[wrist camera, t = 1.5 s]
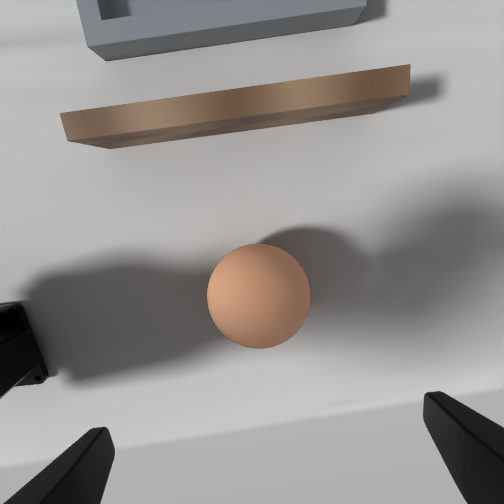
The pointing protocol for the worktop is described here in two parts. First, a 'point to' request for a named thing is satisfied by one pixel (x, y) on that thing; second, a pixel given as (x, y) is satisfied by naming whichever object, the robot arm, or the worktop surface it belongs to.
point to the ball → (258, 296)
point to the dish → (202, 22)
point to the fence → (238, 109)
